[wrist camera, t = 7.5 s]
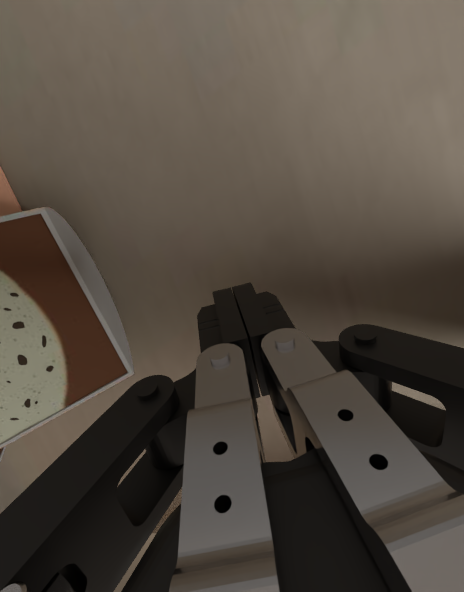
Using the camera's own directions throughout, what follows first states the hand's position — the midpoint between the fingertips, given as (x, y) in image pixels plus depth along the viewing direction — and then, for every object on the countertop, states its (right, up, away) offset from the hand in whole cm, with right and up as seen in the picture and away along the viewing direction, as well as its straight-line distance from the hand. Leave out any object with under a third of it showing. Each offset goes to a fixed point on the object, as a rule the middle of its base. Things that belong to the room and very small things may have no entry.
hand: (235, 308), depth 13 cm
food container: (-8, +1, +6) cm, 10 cm away
